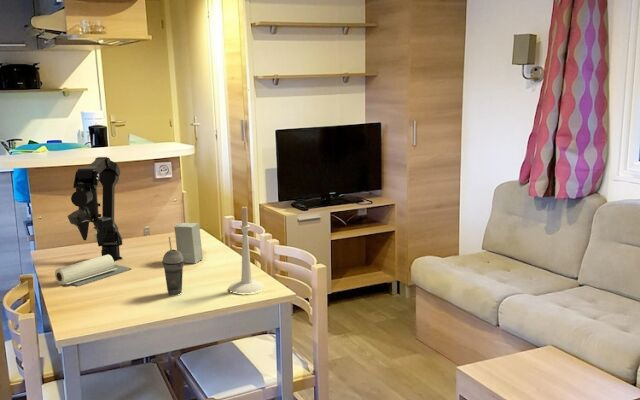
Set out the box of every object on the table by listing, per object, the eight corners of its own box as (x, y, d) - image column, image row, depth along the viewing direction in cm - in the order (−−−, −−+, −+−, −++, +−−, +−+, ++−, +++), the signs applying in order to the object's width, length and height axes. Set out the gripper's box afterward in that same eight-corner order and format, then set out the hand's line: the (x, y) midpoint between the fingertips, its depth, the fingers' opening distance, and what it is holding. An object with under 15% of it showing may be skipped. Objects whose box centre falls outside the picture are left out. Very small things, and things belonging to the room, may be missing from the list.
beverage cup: (174, 298, 201) (171, 241, 197) (159, 294, 205) (156, 238, 201) (190, 292, 207) (187, 236, 203) (175, 288, 211) (172, 234, 207)
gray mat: (113, 265, 240) (113, 264, 240) (131, 269, 234) (131, 268, 234) (59, 281, 220) (59, 280, 220) (78, 286, 214) (77, 285, 214)
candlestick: (224, 285, 214) (221, 203, 208) (259, 281, 218) (257, 201, 213) (233, 297, 202) (230, 210, 197) (269, 292, 207) (267, 207, 201)
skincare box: (203, 260, 246) (201, 222, 243) (194, 264, 240) (192, 226, 237) (185, 258, 249) (183, 221, 246) (175, 263, 242) (173, 225, 239)
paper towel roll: (103, 257, 235) (52, 272, 218) (110, 251, 231) (58, 266, 214) (110, 274, 234) (59, 290, 217) (118, 268, 230) (66, 284, 213)
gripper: (54, 202, 221) (58, 243, 224) (86, 207, 211) (90, 250, 214) (80, 197, 230) (84, 236, 233) (112, 202, 220) (115, 243, 223)
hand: (92, 241), depth 226 cm, fingers open, 9 cm apart
